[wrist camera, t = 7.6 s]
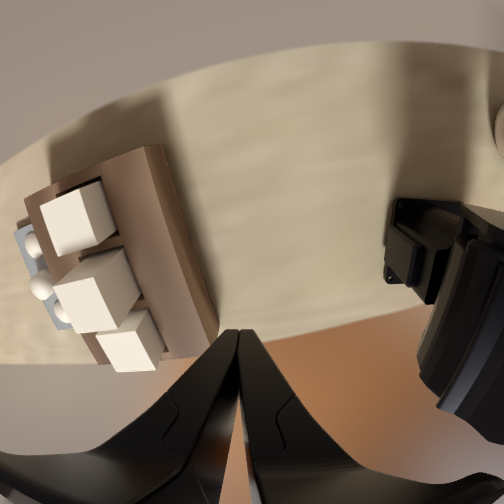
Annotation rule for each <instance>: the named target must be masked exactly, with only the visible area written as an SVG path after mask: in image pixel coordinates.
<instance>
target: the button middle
mask: <svg viewBox="0 0 504 504" xmlns="http://www.w3.org/2000/svg"><path fill="white" fill-rule="evenodd" d="M53 289H54V291H55V293H56V295H57V297H58V299H59V301H60V303H61V305H62V307H63V309H64V311H65V313H66V315H67V317H68V319H69V321H70V323H71V325H72V327H73V328H74V330H75V332H76V334H80V333H89V332H98V331H107V330H115V329H118V328H119V327H120V325H121V323H122V322H123V320H124V319H125V317H126V316H127V314H128V313H129V311H130V310H131V308H132V307H133V305H134V304H135V302H136V301H137V299H138V298H139V296H140V295H141V293H142V291H141V288H140V286H139V283H138V281H137V278H136V276H135V273H134V271H133V268H132V266H131V263H130V261H129V258H128V255H127V253H126V250H125V247H124V245H121V246H117V247H114V248H110V249H106V250H103V251H99V252H95V253H92V254H90V255H89V256H88V257H87V258H85V259H84V260H83V261H82V262H81V263H79V264H78V265H77V266H76V267H75V268H73V269H72V270H71V271H70V272H69V273H68V274H66V275H65V276H64V277H63V278H62V279H61V280H60V281H58V282H57V283H56V284H55V285H54V286H53Z"/></svg>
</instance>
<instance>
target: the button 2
mask: <svg viewBox="0 0 504 504" xmlns="http://www.w3.org/2000/svg"><path fill="white" fill-rule="evenodd" d="M96 338H97V340H98V341H99V343H100V345H101V347H102V348H103V350H104V352H105V354H106V355H107V357H108V359H109V360H110V362H111V364H112V365H113V367H114V369H115V370H116V372H131V371H148V370H156V369H157V366H158V363H159V361H160V358H161V356H162V353H163V351H164V348H165V346H166V344H165V342H164V340H163V338H162V336H161V333H160V331H159V329H158V327H157V325H156V323H155V320H154V318H153V316H152V314H151V311H150V309H149V307H147V308H141V309H135V310H130V311H129V313H128V314H127V316H126V317H125V319H124V320H123V322H122V323H121V325H120V327H119V328H118V329H115V330H107V331H98V333H97V334H96Z"/></svg>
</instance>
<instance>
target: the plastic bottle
mask: <svg viewBox="0 0 504 504" xmlns="http://www.w3.org/2000/svg"><path fill="white" fill-rule="evenodd" d="M494 130H495V141H496V145H497V149H498V151H499V154H500V156H501V157H502V159H503V161H504V104H503V105H502V106H501V108H500V110H499V111H498V113H497V116H496V120H495V129H494Z"/></svg>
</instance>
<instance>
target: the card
mask: <svg viewBox="0 0 504 504" xmlns="http://www.w3.org/2000/svg"><path fill="white" fill-rule="evenodd" d="M14 235H15V238H16V241H17V243H18V246H19V248H20V251H21V254H22V256H23V259H24V261H25V264H26V266H27V268H28V271H29V273H30V275H31V279H30V287H31V290H32V292H33V293H34V295H35V296H36V297H37V298H39V299H41V300H42V301H43V303H44V305H45V307H46V309H47V311H48V313H49V315H50V317H51V319H52V321H53V322H54V324H55V326H56V328H57V330H63V329H72V328H73V327H72V325H71V323H70V321H69V319H68V317H67V315H66V313H65V311H64V309H63V307H62V305H61V303H60V301H59V299H58V297H57V295H56V293H55V291H54V289H53V286H54V285H55V282H54V279H53V277H52V275H51V273H50V270H49V268H48V266H47V263H46V261H45V258H44V256H43V253H42V251H41V248H40V246H39V243H38V240H37V238H36V235H35V232H34V229H33V226H32V224H29V225H27V226H25V227H23V228H20V229H18V230H16V231H15V232H14Z"/></svg>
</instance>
